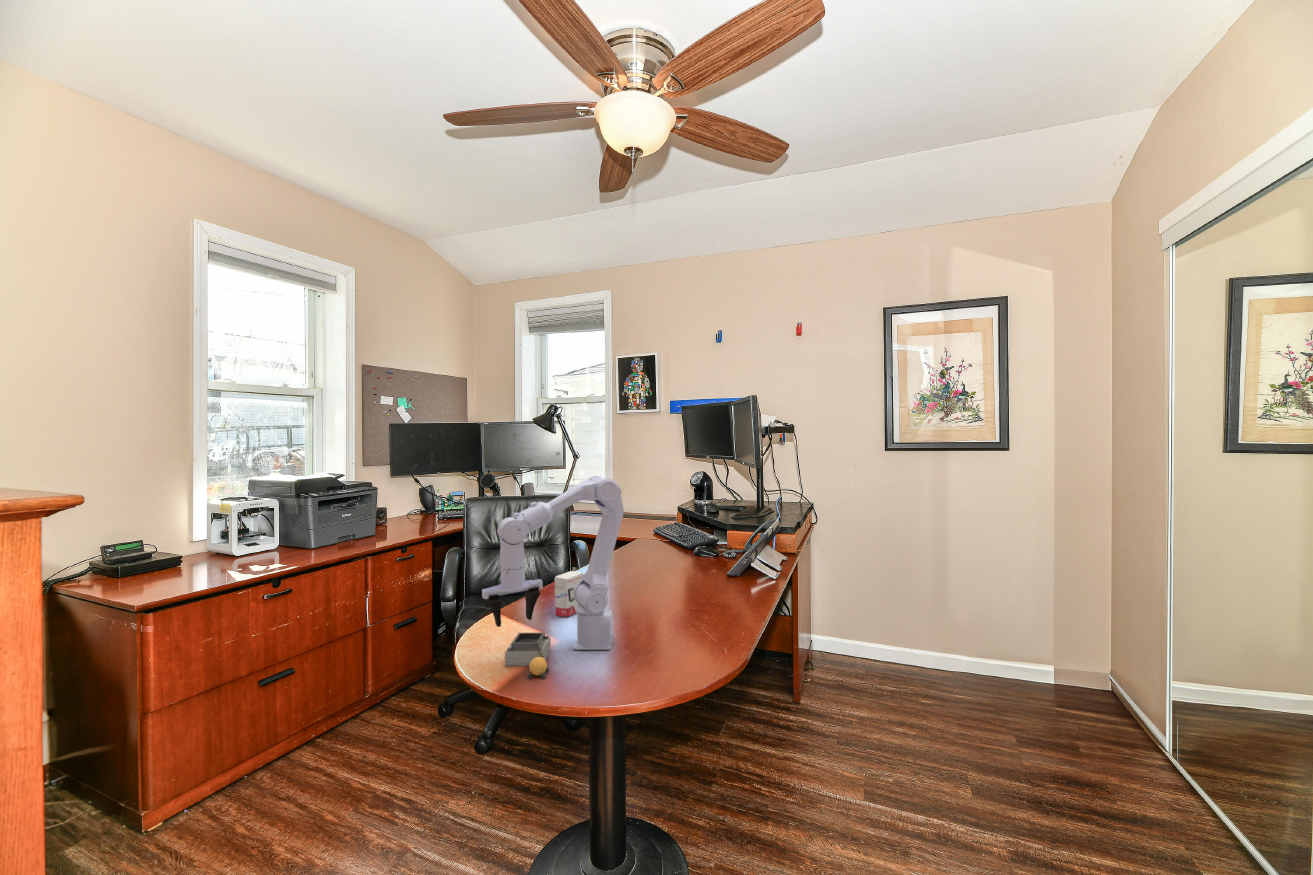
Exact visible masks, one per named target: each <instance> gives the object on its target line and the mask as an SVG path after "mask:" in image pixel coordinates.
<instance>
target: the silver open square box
mask: <svg viewBox="0 0 1313 875" xmlns="http://www.w3.org/2000/svg"><path fill="white" fill-rule="evenodd" d="M551 641H552V640H551V636H550V635H549V634H548V635H546V632H518V633H517V635H516V636H515V638H513V640H512V641H511V643H510V644H509V646H508V647H507V648H506V650H505V652H504V654H505V658H504V660H505V667H529V665H530V662H531V661H532V660H533V659H534V658H536V657H542V658H544V659H545V660H546V661H547V658H548V656H549V654H550V652H551V648H552V647H551V645H552V642H551Z"/></svg>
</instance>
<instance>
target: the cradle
mask: <svg viewBox="0 0 1313 875" xmlns="http://www.w3.org/2000/svg"><path fill="white" fill-rule="evenodd" d="M549 671H550V668H549V667H548V666H547V668H546V671H545V672H544V673H543V674H542V675H540V676H541V680H543V679H544V680H545V679H546V677H547V676H546V673H548V672H549ZM526 676H527V680H531V679H532V678H533V674H532V673H528V674H527V675H526Z"/></svg>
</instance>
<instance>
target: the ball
mask: <svg viewBox="0 0 1313 875" xmlns="http://www.w3.org/2000/svg"><path fill="white" fill-rule="evenodd" d="M547 667H548V664H547V659H546V660H545V659H544V658H542V657H536V658H534V659H533V660H532V661H531V662H530V665H529V666H528V669H529V671H530V674H532V676H533V675H534V676H541V675H542V674H545V673H546V672H545V671H546V668H547Z"/></svg>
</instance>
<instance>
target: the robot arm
mask: <svg viewBox="0 0 1313 875" xmlns="http://www.w3.org/2000/svg"><path fill="white" fill-rule="evenodd" d="M622 491H623V490H622V489H621V487H620V486H619V484H618V483H617V482H616V481H615V480H614V479H612V478H605V477H601V476H598V475H595V476H591V477H589V478H588V479H585V480H582V481H581V482H579V483H578V484H576V485H574V486H572V488H570V489H568V490H566V491H564V492H562V494H560V495H558V496H557V497H555V498H553V499H552V500H550V501H548V502H543V501H538V502H536V501H534V502H532V503H530V507H528V508H525V509H524V510H521V511H520V512H514V513H513V517H512V516H511V517H505V518H503V519H502V520H501V521H500V523H499V525H498V527H497V529H496V532H497V533H496V534H497V535H498V537H499V538H500V543H499V544H500V549H499V557H500V558H499V560H500V563H499V564H500V584H497V585H494V586H491V587H487V588H483V589H481V597H482V598H483V600H486V602H487V603H488V604H489V608H490V609H491V612H492V615H493V618H494V623H495V626H496V627H498V628H499V627H500V628H501V627H502V615H501V610H502V602H503V601H502V600H501V599H500V596H505V595H509V594H514V593H520V592H524V596H525V597H524V598H525V618H526V619H527V620H528V621H532V619H533V614H534V610H535V606H536V603H537V602H538V599H539V597H540V595H541V590H542V589H543V588H544V586H543V580H542V579H540V578H537V579H528V580H527V579H526V576H525V574H526V572H525V568H526V567H525V546H524V544H525V543H524V540H526V538H527V535H530V534H532V533H533V532H534V531H537V530H538V529H540V528H541V527H544V526H545V525H547V524H549V523H550V522H552V520H553V517H554V514H557V513H559V512H560V511H563V510H565V509H567V508H569V507H571V506H572V505H575V504H576V503H579V502H581V501H586V502H587V501H589V502H594V503H595V504H596V506H597V507H598V508H599V510H600V512H601V513H602V517H601V520H600V523H599V527H598V530H597V534H596V538H595V541H594V545H593V547H592V551H591V556H590V559H589V563H588V565H587V570H586V571H585V573H583V576H582V577H581V581H580V583H579V584H578V585H577V586H576V588H575V590H574V598H575V600H576V602H577V603H578V608H577V613H576V622H577V623H576V625H577V626H576V628H577V631H576V634H577V639H576V641H575V645H574V646H573V650H575V651H577V650H578V651H582V650H583V651H587V650H588V651H591V650H592V651H597V650H599V651H602V650H603V651H605V650H606V651H607V650H608V651H610V650H611V649H612V644H613V641H614V638H615V636H614V616H613V613H614V612H613V610H611V609H606V608H607V606H608V602H609V597H608V591H609V583H608V579H607V576H608V575H607V574H608V572H609V569H610V564H611V560H612V557H613V553H614V551H615V550H614V549H615V547H616V543H617V539H618V534H619V531H620V527H621V524H622V521H623V517H624V512H625V509H624V504H623V500H622ZM540 589H541V590H540Z"/></svg>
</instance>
